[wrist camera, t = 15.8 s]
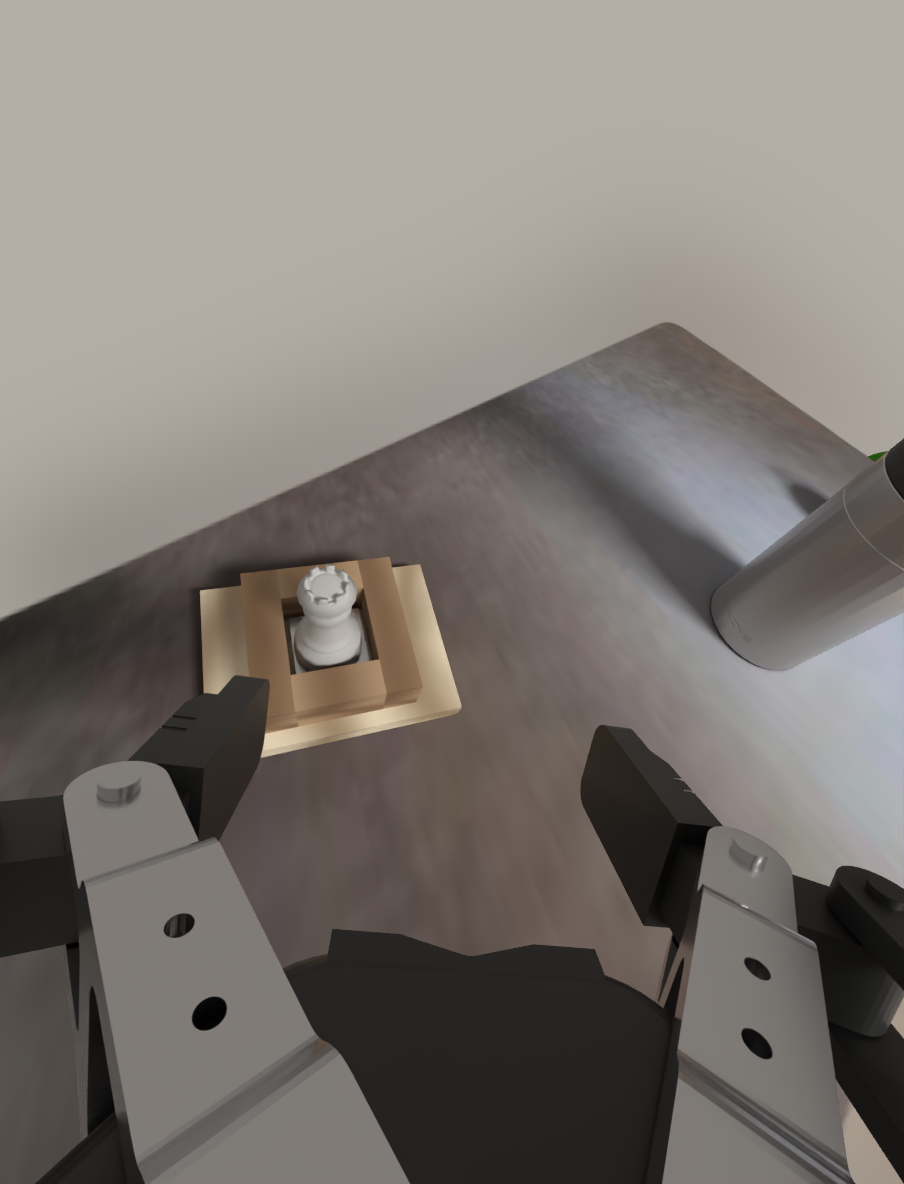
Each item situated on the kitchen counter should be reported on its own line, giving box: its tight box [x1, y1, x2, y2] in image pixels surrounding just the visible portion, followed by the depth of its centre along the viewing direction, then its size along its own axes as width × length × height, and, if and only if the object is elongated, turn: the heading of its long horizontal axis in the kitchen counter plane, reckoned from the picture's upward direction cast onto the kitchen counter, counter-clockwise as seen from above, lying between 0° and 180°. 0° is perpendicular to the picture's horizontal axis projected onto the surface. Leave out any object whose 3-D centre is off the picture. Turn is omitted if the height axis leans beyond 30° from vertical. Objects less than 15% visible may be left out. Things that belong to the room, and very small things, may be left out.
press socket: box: [200, 557, 462, 758], centre depth 33 cm, size 16×12×4 cm
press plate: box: [289, 608, 370, 674], centre depth 34 cm, size 5×5×1 cm
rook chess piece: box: [293, 564, 362, 671], centre depth 30 cm, size 4×4×8 cm
